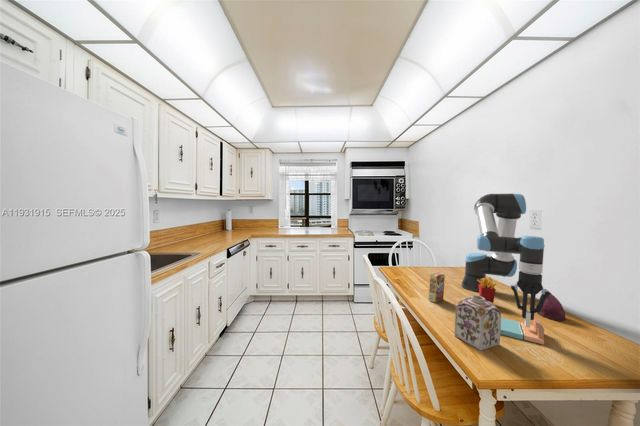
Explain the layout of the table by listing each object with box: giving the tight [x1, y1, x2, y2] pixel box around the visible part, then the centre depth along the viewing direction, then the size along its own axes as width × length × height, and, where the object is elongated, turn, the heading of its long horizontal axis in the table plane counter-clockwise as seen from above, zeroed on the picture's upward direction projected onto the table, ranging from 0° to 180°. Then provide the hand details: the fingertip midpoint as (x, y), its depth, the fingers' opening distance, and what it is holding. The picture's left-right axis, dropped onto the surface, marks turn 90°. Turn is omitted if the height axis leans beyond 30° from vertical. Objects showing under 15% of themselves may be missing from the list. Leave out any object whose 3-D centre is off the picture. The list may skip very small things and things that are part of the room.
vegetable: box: [536, 288, 566, 322], centre depth 121 cm, size 10×10×15 cm
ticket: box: [500, 317, 524, 341], centre depth 108 cm, size 14×12×2 cm
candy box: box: [428, 272, 446, 303], centre depth 139 cm, size 9×4×15 cm, turn 123°
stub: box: [519, 316, 545, 345], centre depth 103 cm, size 14×6×6 cm, turn 146°
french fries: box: [477, 276, 497, 304], centre depth 136 cm, size 9×8×15 cm
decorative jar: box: [453, 295, 502, 352], centre depth 98 cm, size 12×12×18 cm
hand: (527, 326), depth 103 cm, fingers closed
